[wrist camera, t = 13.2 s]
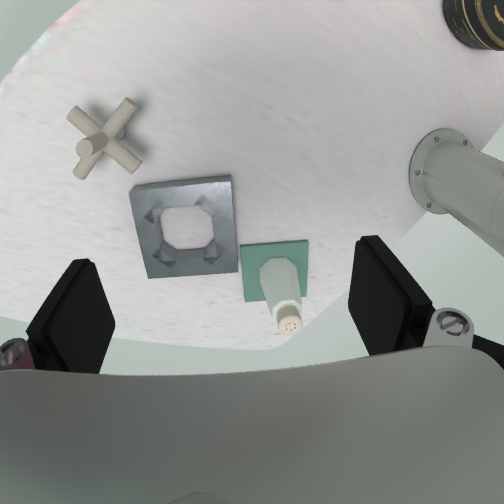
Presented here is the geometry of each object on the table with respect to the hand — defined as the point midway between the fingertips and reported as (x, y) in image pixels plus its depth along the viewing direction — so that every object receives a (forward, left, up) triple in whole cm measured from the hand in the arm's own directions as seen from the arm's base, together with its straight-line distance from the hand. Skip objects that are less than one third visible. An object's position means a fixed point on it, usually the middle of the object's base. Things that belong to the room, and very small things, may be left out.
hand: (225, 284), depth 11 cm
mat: (-5, +18, -28) cm, 34 cm away
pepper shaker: (-5, +18, -28) cm, 34 cm away
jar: (-34, -20, -29) cm, 49 cm away
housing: (+6, +10, -28) cm, 31 cm away
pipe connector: (+13, -3, -28) cm, 31 cm away
